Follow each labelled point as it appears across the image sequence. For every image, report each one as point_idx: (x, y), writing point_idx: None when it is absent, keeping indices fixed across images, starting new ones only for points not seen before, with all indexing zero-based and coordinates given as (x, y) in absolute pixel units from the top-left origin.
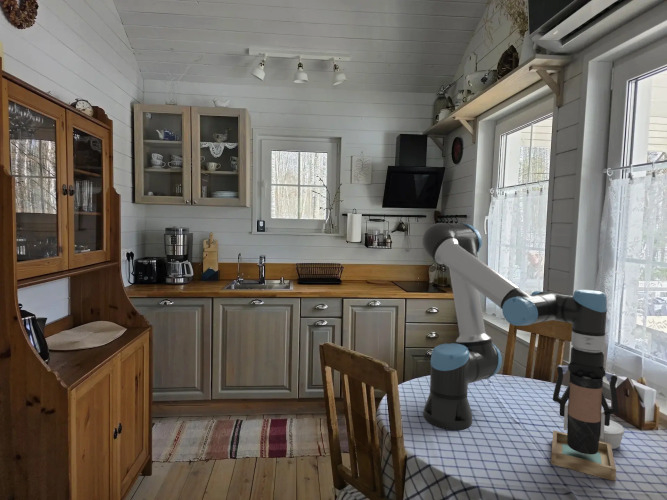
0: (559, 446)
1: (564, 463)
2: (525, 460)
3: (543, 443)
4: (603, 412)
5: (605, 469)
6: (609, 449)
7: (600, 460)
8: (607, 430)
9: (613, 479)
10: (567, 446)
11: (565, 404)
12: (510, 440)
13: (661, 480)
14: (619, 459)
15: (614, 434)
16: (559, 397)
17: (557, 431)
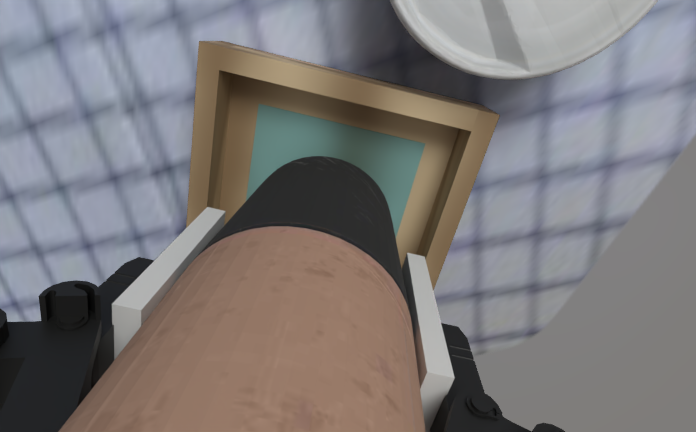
0: (240, 139)
1: None
2: (110, 271)
3: (175, 97)
4: (430, 411)
5: None
6: (461, 185)
7: (398, 217)
8: (535, 29)
9: None
10: (278, 129)
11: (117, 339)
12: (25, 121)
13: (596, 262)
14: (507, 142)
15: (558, 71)
16: (11, 372)
17: (223, 50)
